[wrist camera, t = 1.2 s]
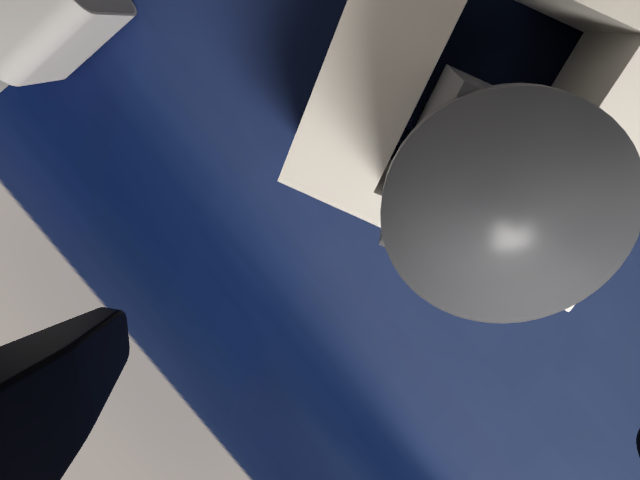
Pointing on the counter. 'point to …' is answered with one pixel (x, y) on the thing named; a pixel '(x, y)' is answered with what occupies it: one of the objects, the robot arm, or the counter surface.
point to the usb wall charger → (54, 36)
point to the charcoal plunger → (510, 200)
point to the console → (412, 76)
